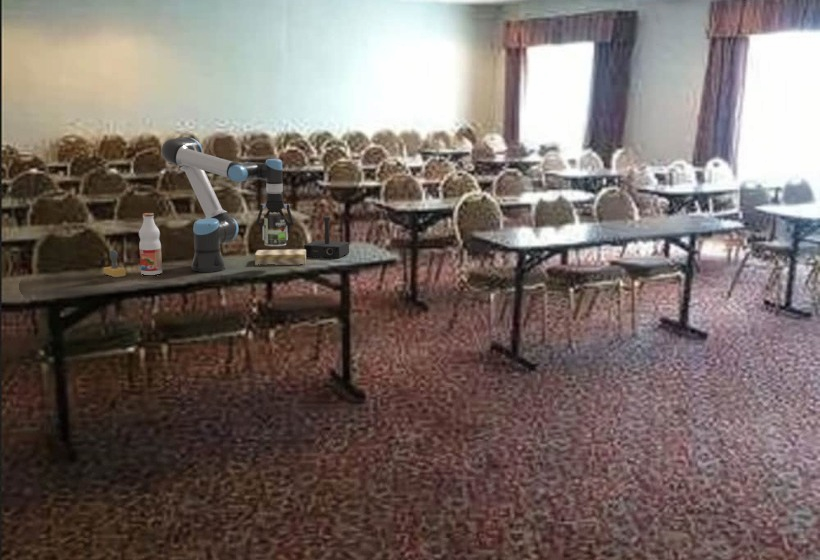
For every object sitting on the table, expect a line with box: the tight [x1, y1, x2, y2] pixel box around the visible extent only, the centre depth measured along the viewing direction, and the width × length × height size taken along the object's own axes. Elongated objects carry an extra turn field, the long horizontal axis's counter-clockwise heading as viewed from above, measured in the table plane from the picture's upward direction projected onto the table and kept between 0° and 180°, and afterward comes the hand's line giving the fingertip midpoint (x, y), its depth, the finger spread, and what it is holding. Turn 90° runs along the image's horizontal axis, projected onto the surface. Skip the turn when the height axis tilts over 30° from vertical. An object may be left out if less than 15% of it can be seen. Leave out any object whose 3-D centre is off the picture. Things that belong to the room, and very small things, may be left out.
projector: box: [303, 216, 350, 259], centre depth 446 cm, size 19×17×20 cm
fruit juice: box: [138, 212, 163, 275], centre depth 397 cm, size 9×9×28 cm
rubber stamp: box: [103, 249, 127, 276], centre depth 395 cm, size 10×6×12 cm, turn 46°
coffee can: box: [263, 213, 287, 247], centre depth 410 cm, size 10×10×14 cm
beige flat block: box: [254, 248, 307, 266], centre depth 429 cm, size 24×14×5 cm, turn 95°
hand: (275, 239), depth 411 cm, fingers closed on coffee can, 10 cm apart
